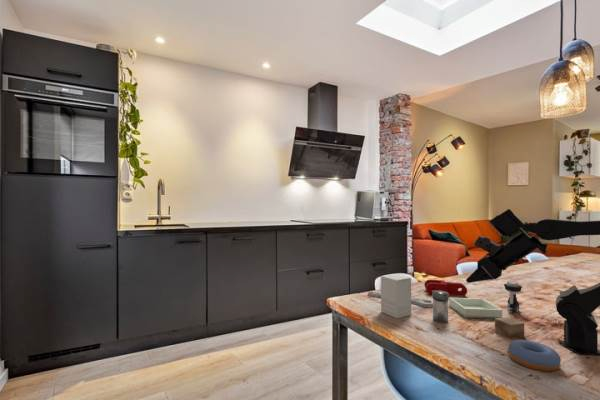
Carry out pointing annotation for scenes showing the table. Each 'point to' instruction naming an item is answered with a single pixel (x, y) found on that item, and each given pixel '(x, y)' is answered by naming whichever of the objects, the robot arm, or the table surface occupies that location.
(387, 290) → the supplement box
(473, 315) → the bin
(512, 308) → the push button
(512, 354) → the doughnut
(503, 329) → the walnut block
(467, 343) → the table surface
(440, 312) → the pepper shaker
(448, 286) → the mechanical linkage
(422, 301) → the adjustable wrench
